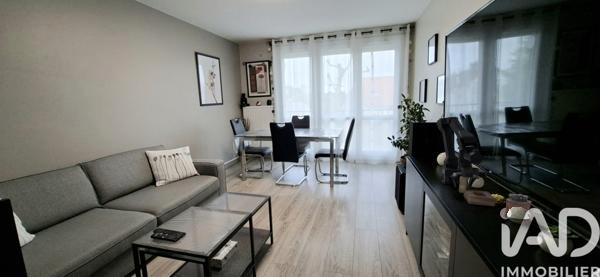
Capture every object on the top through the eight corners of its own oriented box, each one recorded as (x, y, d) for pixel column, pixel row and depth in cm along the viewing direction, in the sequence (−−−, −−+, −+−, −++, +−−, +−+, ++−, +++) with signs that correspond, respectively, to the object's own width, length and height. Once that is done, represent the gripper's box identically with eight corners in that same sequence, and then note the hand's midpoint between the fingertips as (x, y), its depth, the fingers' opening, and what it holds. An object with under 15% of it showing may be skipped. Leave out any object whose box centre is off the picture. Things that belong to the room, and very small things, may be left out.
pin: (458, 190, 135) (459, 176, 133) (464, 191, 134) (465, 176, 132) (459, 192, 132) (460, 178, 131) (466, 193, 131) (467, 178, 130)
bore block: (463, 196, 127) (464, 189, 126) (487, 198, 124) (487, 191, 123) (469, 203, 119) (469, 196, 118) (494, 206, 115) (495, 198, 115)
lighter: (526, 217, 105) (529, 194, 103) (530, 220, 101) (533, 197, 100) (503, 214, 107) (505, 192, 106) (506, 218, 104) (509, 195, 103)
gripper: (447, 162, 125) (445, 192, 128) (492, 164, 120) (489, 195, 122) (443, 157, 136) (441, 185, 138) (484, 158, 130) (481, 187, 132)
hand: (462, 188), depth 132 cm, fingers open, 6 cm apart
